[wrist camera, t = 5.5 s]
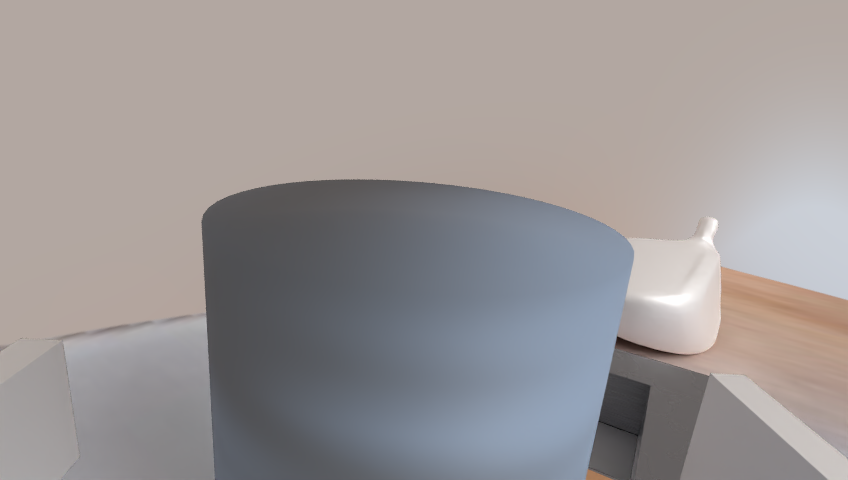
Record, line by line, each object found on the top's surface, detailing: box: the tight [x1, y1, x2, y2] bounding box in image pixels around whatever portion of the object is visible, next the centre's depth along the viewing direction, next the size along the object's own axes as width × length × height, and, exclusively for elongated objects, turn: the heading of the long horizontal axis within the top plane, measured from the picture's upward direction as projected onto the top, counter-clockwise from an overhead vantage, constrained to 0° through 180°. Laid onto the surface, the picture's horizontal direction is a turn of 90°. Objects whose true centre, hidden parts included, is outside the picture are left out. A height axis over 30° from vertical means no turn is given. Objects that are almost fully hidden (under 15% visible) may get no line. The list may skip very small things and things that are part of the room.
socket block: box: [586, 348, 709, 480], centre depth 19 cm, size 12×12×3 cm
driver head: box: [617, 217, 721, 354], centre depth 31 cm, size 10×11×12 cm
